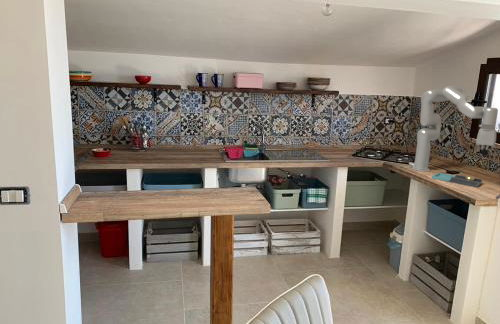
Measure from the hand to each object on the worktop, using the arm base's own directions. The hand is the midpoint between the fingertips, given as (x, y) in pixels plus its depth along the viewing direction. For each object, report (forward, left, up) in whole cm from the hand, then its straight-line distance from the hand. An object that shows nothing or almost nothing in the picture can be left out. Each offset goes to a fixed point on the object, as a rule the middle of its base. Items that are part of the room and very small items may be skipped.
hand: (484, 155), depth 245 cm
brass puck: (-6, 0, -18) cm, 19 cm away
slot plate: (-8, 0, -20) cm, 21 cm away
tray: (-22, 0, -20) cm, 29 cm away
